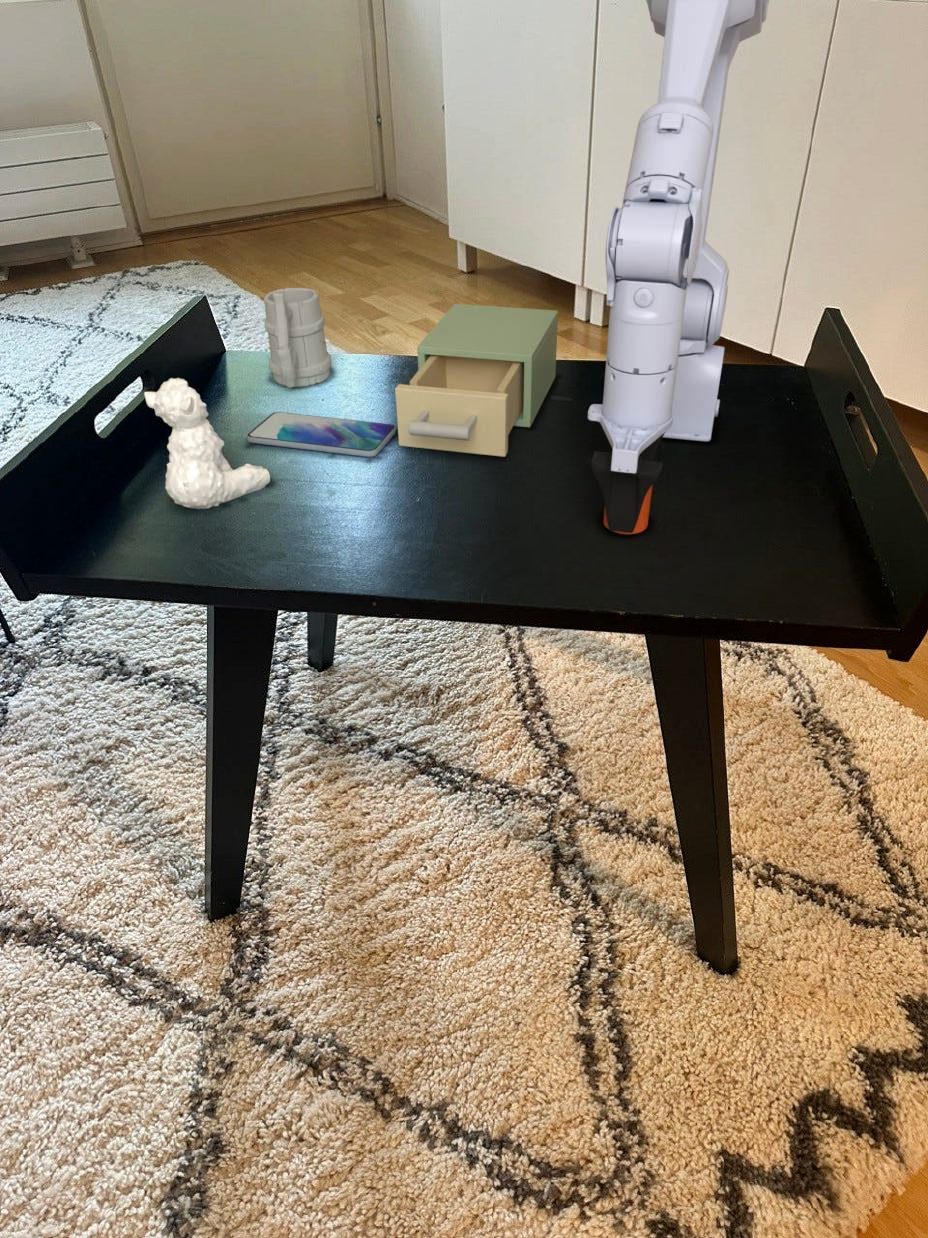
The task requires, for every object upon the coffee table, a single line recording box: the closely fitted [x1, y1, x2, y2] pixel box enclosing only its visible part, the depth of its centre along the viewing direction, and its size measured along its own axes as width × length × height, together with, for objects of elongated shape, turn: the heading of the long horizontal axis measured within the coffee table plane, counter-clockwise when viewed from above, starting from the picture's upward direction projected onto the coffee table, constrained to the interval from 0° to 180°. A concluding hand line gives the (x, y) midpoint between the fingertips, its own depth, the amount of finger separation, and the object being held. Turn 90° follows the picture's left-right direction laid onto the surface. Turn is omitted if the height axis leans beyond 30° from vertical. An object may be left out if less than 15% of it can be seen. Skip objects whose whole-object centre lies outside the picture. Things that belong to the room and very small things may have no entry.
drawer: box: [394, 355, 524, 458], centre depth 93 cm, size 18×11×6 cm, turn 164°
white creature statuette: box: [143, 377, 271, 510], centre depth 84 cm, size 10×9×12 cm
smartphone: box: [246, 411, 398, 458], centre depth 97 cm, size 7×1×15 cm
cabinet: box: [416, 303, 559, 428], centre depth 102 cm, size 15×13×8 cm
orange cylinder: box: [603, 485, 653, 535], centre depth 80 cm, size 4×4×5 cm
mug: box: [263, 287, 333, 388], centre depth 106 cm, size 8×12×12 cm, turn 178°
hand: (626, 508), depth 81 cm, fingers open, 7 cm apart
